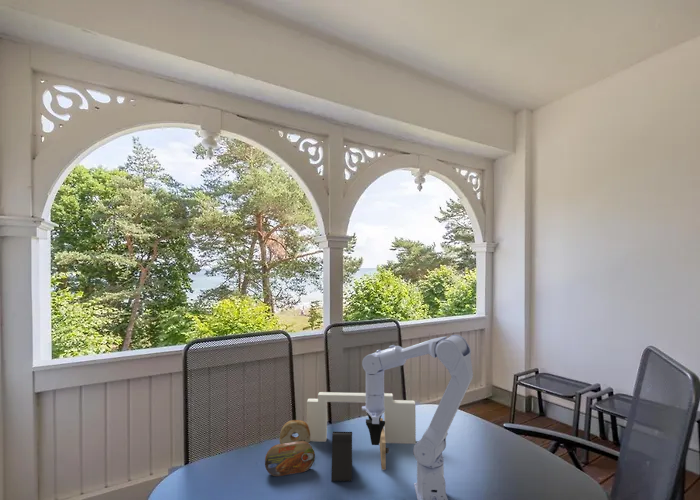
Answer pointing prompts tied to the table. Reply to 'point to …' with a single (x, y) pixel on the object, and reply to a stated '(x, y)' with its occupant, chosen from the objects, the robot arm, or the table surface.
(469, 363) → the robot arm
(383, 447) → the door
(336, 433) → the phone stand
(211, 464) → the table surface
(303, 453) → the tin
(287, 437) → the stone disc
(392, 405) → the door frame
